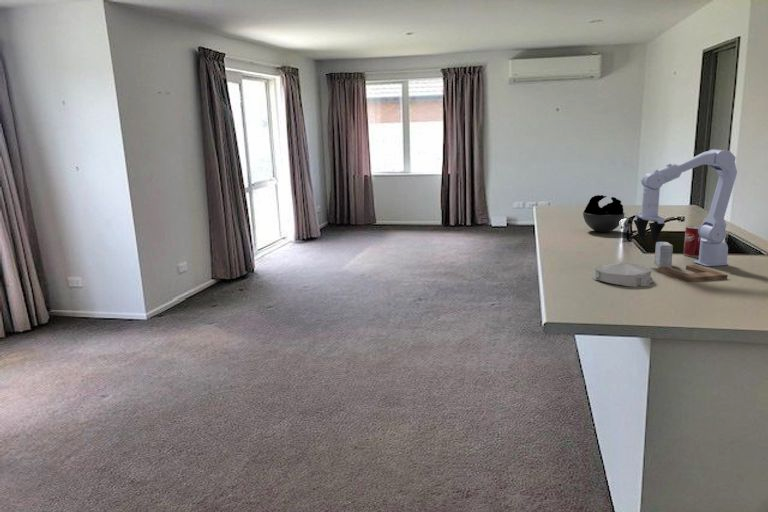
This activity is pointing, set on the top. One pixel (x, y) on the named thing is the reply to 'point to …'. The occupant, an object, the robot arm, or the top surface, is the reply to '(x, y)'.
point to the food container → (624, 274)
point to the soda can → (692, 241)
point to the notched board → (700, 274)
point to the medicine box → (663, 254)
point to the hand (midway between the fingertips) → (647, 239)
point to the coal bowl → (603, 214)
